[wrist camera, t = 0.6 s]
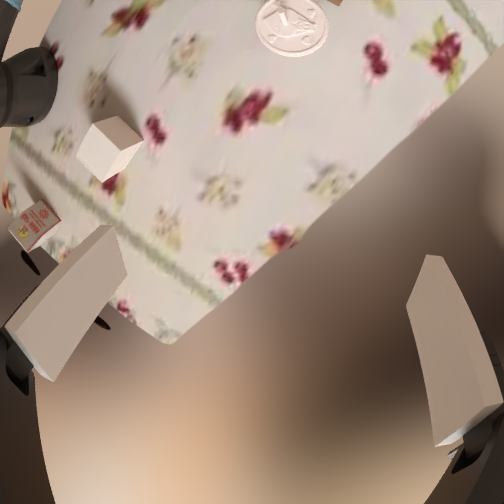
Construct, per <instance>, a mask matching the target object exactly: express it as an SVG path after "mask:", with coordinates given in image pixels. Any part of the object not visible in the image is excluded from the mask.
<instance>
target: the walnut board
mask: <svg viewBox="0 0 504 504" xmlns="http://www.w3.org/2000/svg"><path fill="white" fill-rule="evenodd" d="M328 1H330V2H331V3H333V4H335V5H337V6H339V5H340V4H341V2H342V1H343V0H328Z"/></svg>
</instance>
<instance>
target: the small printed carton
mask: <svg viewBox="0 0 504 504" xmlns="http://www.w3.org/2000/svg"><path fill="white" fill-rule="evenodd" d="M60 223H61V220H60V219H59V218H58V217H57V215H56V214H55V213H54V212H53V211H52V210H51V209H50V208H49V206H48V205H47V204H46V203H45V202H44V201H43V199H41V200H40V201H38V202H37V203H35V204H34V205H32V206H31V207H29V208H28V209H26V210H25V211H24V212H22V213H21V214H20V216H19V217H18V218H17V219H16V220H15V221H14V222H13V223H12V224H11V225H10V226H9V227H8V230H9V231H10V232H11V234H12V235H13V236H14V237H15V239H16V240H17V241H18V242H19V243H20V244H21V246H22V247H23V248H24V249H25V251H26V252H27V253H28V252H29V251H31V250H33V249H34V248H36V247H38V246H40V245H41V244H42V243H43V242H44V241H46V240H47V239H48V238H49V237H50V236H52V235H53V234H54V233H55V232H56V231H57V230H58V227H59V225H60Z"/></svg>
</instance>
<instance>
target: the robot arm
mask: <svg viewBox="0 0 504 504" xmlns="http://www.w3.org/2000/svg"><path fill="white" fill-rule="evenodd" d="M22 1H23V0H0V128H1V127H7V126H8V127H28V126H31V125H34V124H36V123H39V122H40V121H42V120H43V119H44V118H45V117H46V116H47V114H48V113H49V111H50V109H51V107H52V105H53V102H54V99H55V95H56V90H57V80H58V76H57V67H56V62H55V59H54V57H53V55H52V54H51V52H50V51H49V50H47V49H46V48H43V47H35V48H29V49H26V50H24V51H22V52H20V53H18V54H16V55H14V56H13V57H11V58H9V59H7V60H5V61H3V62H1V61H2V57H3V53H4V50H5V47H6V44H7V41H8V38H9V35H10V33H11V30H12V27H13V24H14V22H15V19H16V17H17V14H18V12H19V11H20V10H21V7H20V6H21V4H22ZM126 276H127V272H126V269H125V265H124V262H123V259H122V255H121V252H120V248H119V244H118V241H117V237H116V233H115V229H114V226H111V225H100V226H99V227H98V228H97V229H96V230H95V231H94V232H92V233H91V234H90V235H89V236H88V237H87V238H86V239H85V240H84V241H83V242H82V243H81V244H80V245H78V246H77V247H76V248H75V249H74V250H73V251H72V252H71V253H70V254H69V255H68V256H67V257H66V258H65V259H64V260H63V261H62V262H61V263H60V264H59V265H58V266H57V267H56V268H55V269H54V270H53V271H52V272H51V274H50V275H49V276H48V277H47V278H46V279H45V280H44V281H43V282H42V283H41V284H39V285H38V286H36V287H35V289H34V290H33V291H32V292H31V293H30V294H29V297H26V299H25V300H24V301H23V303H21V304H20V306H19V307H18V308H17V309H16V310H15V311H14V313H13V314H12V315H11V316H10V318H9V319H8V320H7V321H6V322H5V324H4V325H3V326H2V327H1V328H0V504H55V501H54V497H53V494H52V490H51V487H50V483H49V479H48V475H47V471H46V466H45V462H44V457H43V452H42V446H41V439H40V433H39V426H38V417H37V407H36V395H35V377H34V373H33V372H32V371H31V370H32V368H33V367H35V368H36V369H37V371H38V372H39V373H40V374H41V375H42V376H44V377H45V378H47V379H49V380H51V381H52V382H54V381H55V379H56V378H57V376H58V374H59V373H60V371H61V370H62V368H63V366H64V365H65V363H66V362H67V360H68V358H69V357H70V355H71V354H72V352H73V351H74V349H75V347H76V346H77V345H78V343H79V342H80V340H81V339H82V337H83V336H84V334H85V333H86V331H87V330H88V328H89V327H90V325H91V324H92V323H93V321H94V320H95V318H96V317H97V315H98V314H99V312H100V311H101V310H102V308H103V307H104V305H105V304H106V303H107V302H108V300H109V299H110V297H111V296H112V295H113V293H114V292H115V291H116V289H117V288H118V287H119V285H120V284H121V283H122V281H123V280H124V279H125V277H126ZM406 308H407V311H408V315H409V318H410V321H411V325H412V329H413V333H414V337H415V340H416V344H417V348H418V353H419V356H420V361H421V366H422V370H423V375H424V380H425V385H426V390H427V396H428V402H429V408H430V415H431V421H432V429H433V438H434V447H436V446H442V445H447V444H452V443H454V442H455V441H456V440H458V439H459V438H461V437H462V436H463V440H464V443H463V444H461V445H460V446H458V447H457V448H455V449H454V450H452V451H451V452H450V453H449V454H448V455H447V457H450V456H452V455H453V454H455V453H456V454H455V456H454V458H452V461H451V463H450V465H449V466H448V468H447V470H446V471H445V473H444V475H443V476H442V478H441V480H440V481H439V483H438V484H437V486H436V487H435V489H434V490H433V492H432V493H431V495H430V496H429V498H428V499H427V500H426V502H425V503H424V504H504V370H503V367H502V366H501V362H500V359H499V357H498V356H497V351H496V349H495V346H494V344H493V342H492V340H491V339H490V338H489V336H488V335H487V334H486V333H485V332H484V331H479V330H478V327H477V325H476V323H475V320H474V318H473V316H472V314H471V312H470V309H469V307H468V305H467V303H466V301H465V299H464V297H463V295H462V293H461V291H460V289H459V287H458V285H457V283H456V281H455V279H454V278H453V276H452V274H451V272H450V270H449V268H448V267H447V265H446V263H445V261H444V259H443V258H442V256H432V255H426V258H425V260H424V263H423V266H422V268H421V271H420V273H419V276H418V279H417V281H416V284H415V286H414V289H413V291H412V293H411V296H410V298H409V300H408V302H407V305H406Z"/></svg>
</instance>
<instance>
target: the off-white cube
mask: <svg viewBox="0 0 504 504" xmlns="http://www.w3.org/2000/svg"><path fill="white" fill-rule="evenodd" d="M143 141H144V140H143V139H142V138H141V137H140V136H139V135H138V134H137V133H136V132H135V131H134V130H133V129H131V128H130V127H129V126H128V125H127V124H126V123H125V122H124V121H123V120H122V119H121V118H120V117H119V116H114V117H111V118H108V119H104V120H101V121H98V122H95V123H92V125H91V127H90V129H89V131H88V132H87V134H86V136H85V138H84V140H83V142H82V144H81V146H80V148H79V150H78V152H77V154H76V157H77V158H78V159H79V160H80V161H81V162H82V163H83V164H84V165H85V166H86V167H87V168H88V169H89V170H90V171H91V172H92V173H93V174H94V175H95V176H96V177H97V178H98V179H99V180H100V181H101V182H104V181H105V180H107V179H108V178H110V177H112V176H113V175H115V174H116V173H118V172H120V171H121V170H123V169H124V168H125V167H126V165H127V164H128V162H129V161H130V159H131V158H132V157H133V155H134V154H135V152H136V151H137V149H138V148H139V147H140V145H141V144H142V142H143Z"/></svg>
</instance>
